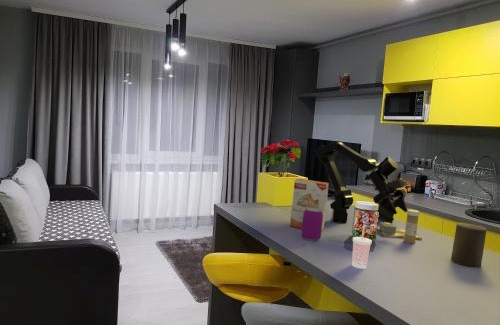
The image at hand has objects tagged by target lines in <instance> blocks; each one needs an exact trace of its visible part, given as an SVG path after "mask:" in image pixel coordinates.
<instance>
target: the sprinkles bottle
mask: <svg viewBox="0 0 500 325" xmlns="http://www.w3.org/2000/svg"><path fill="white" fill-rule="evenodd" d="M407 210H408V211H407V212H406V216H407V217H406V222H405V229H404V230H405V237H404V238H403V242H405V243H407V244H415V243H416V240H415V238H416V234H417V233H418V232H417V229H418V224H419V222H418V221H419V216H420V211H419V210H416V209H407Z"/></svg>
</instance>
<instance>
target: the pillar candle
mask: <svg viewBox="0 0 500 325" xmlns="http://www.w3.org/2000/svg"><path fill="white" fill-rule="evenodd" d="M455 226H456V227H455V231H454V232H455V233H454V238H453V244H452V251H451V258H450V260H451V261H452V262H453V263H455V264H457V263H458V265H460V266H465V267H469V268H476V267H477V268H481V267H482V263H483V262H482V261H483V257H484V248H485V243H486V237H487V230H488V229H487V228H486V227H484V226H481V225H477V224H473V222H471V223H467V222H466V223H465V222H457V223H456V225H455Z"/></svg>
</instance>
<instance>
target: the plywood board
mask: <svg viewBox="0 0 500 325" xmlns="http://www.w3.org/2000/svg"><path fill="white" fill-rule="evenodd" d="M379 228H380V226H377V227H376V230H377V231H378V232H379V233H380V235H382V236H383V237H384V238H385V237H386V238H394V239H404V237H405V229H401V228H396V233H395V234H391V233H384V232H382V231H381V230H380V229H379ZM422 240H423V237H422V236H420V235H418V234H417V233H416V238H415V241H422Z"/></svg>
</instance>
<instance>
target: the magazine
mask: <svg viewBox="0 0 500 325" xmlns="http://www.w3.org/2000/svg"><path fill="white" fill-rule="evenodd" d="M391 202H392V204H393V206H394V207H395V209H396V208H399V207H398V206H397V205H396V204H394V203H393V202H394V201H392V200H391ZM377 211H378V212H379V218H378V220H381V221H383V222H386V223H392V224H393V222H394V221H395V218H394V215H395V214H394V213H392V212H390V211H389V210H387V209H386V208H384V207H382V206H380V205H378V207H377Z"/></svg>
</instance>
